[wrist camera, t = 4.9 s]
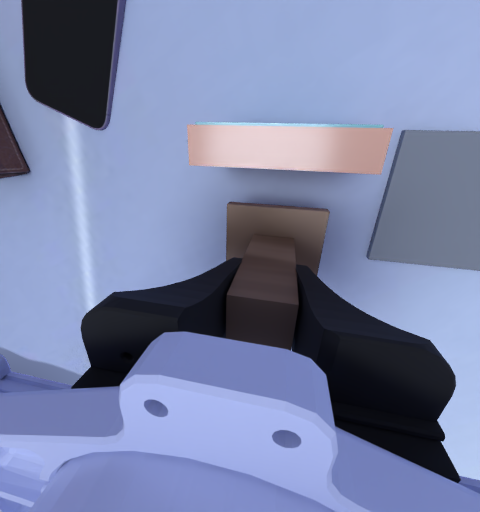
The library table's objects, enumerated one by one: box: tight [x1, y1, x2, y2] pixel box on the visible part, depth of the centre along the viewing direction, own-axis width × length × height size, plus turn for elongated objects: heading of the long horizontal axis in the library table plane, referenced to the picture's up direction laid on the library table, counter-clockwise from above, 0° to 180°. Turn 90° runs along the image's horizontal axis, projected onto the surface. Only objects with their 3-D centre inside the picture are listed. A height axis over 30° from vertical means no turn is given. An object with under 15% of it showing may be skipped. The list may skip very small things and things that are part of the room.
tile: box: [187, 122, 393, 174], centre depth 14 cm, size 2×9×7 cm, turn 88°
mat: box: [367, 130, 480, 271], centre depth 16 cm, size 9×9×1 cm
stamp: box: [226, 202, 330, 351], centre depth 12 cm, size 6×6×8 cm
